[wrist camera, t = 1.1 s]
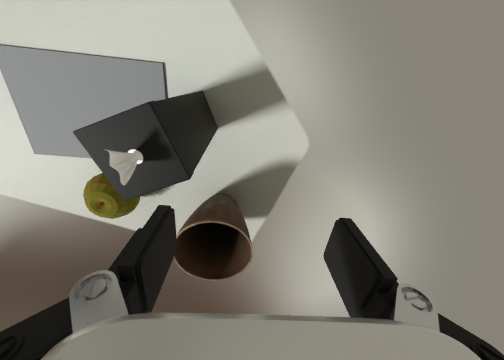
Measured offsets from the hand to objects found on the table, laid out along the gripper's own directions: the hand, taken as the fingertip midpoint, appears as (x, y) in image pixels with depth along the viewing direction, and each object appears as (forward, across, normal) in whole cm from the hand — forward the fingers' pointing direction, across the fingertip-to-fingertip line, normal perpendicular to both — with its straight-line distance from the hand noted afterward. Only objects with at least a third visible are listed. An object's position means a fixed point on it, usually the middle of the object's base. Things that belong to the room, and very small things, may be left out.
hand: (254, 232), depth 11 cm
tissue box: (+34, +11, 0) cm, 36 cm away
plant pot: (+34, +4, +22) cm, 41 cm away
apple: (+34, +27, +17) cm, 47 cm away
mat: (+34, +31, +1) cm, 46 cm away
